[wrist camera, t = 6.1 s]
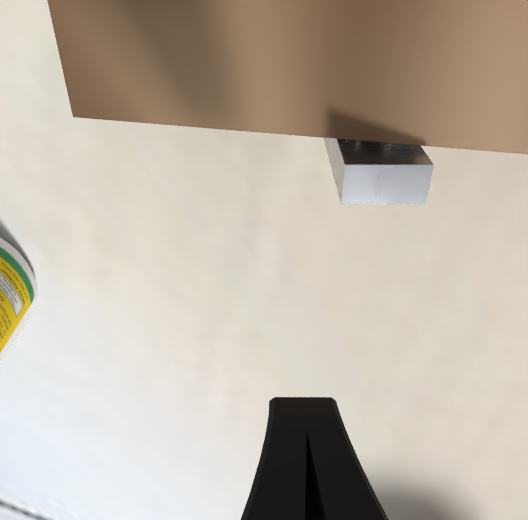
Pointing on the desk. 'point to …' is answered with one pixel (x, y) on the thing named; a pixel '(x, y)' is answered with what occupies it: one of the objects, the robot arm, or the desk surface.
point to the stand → (379, 172)
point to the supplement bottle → (14, 295)
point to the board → (305, 67)
